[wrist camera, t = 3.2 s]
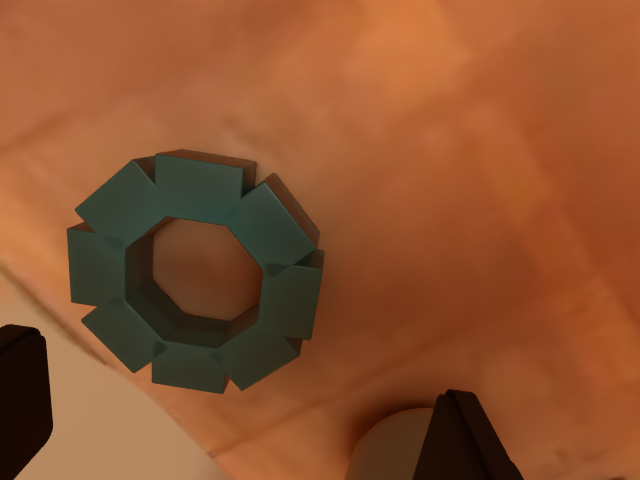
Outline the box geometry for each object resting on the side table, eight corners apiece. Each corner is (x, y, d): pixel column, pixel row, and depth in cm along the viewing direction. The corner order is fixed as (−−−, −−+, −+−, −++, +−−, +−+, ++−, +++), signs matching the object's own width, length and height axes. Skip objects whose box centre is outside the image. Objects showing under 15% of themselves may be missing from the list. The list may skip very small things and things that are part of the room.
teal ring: (337, 174, 15) (337, 182, 13) (304, 373, 18) (299, 407, 16) (100, 135, 15) (60, 137, 13) (105, 342, 18) (74, 371, 16)
